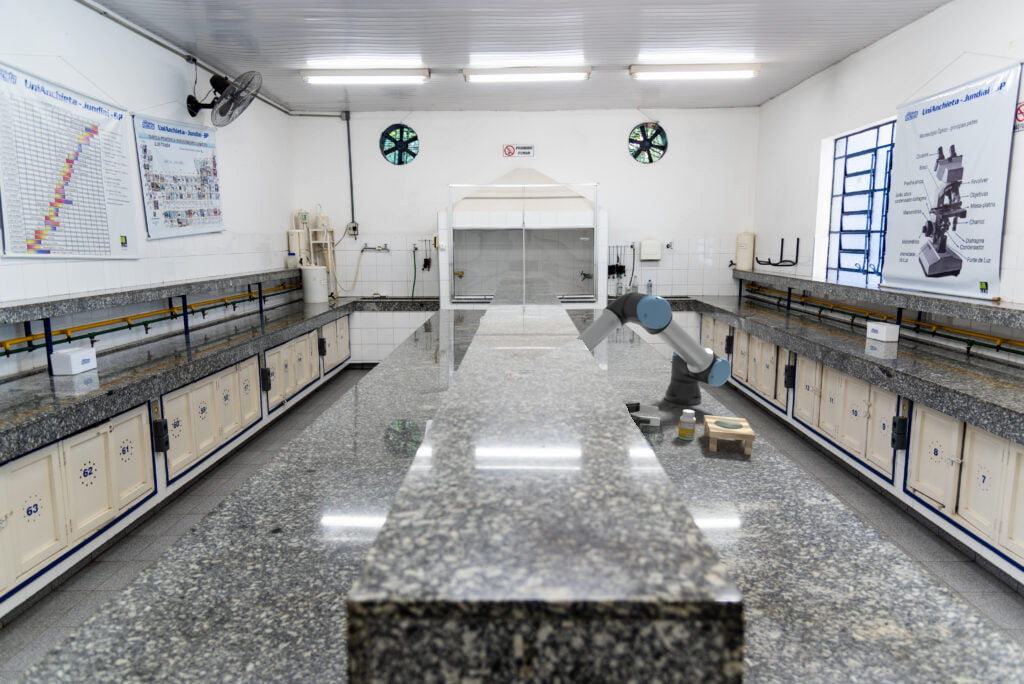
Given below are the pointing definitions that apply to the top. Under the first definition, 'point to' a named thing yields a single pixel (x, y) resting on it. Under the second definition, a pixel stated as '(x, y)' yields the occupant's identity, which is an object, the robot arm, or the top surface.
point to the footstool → (728, 431)
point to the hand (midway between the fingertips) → (659, 416)
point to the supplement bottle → (687, 425)
